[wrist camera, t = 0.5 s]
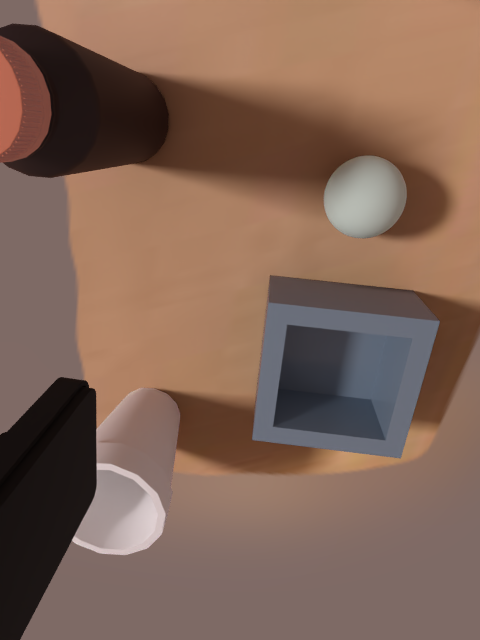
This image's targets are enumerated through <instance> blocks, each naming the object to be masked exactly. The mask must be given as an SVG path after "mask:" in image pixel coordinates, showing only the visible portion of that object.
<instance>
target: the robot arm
mask: <svg viewBox="0 0 480 640" xmlns="http://www.w3.org/2000/svg"><path fill="white" fill-rule="evenodd" d="M96 486H97V449H96V391H95V389H93V388H89V385H88V382H87V381H84V380H77V379H70V378H64V377H60V378H58V379H57V380H56V381H55V382H54V383H53V384H52V385H51V386H50V387H49V388H48V389H47V391H45V393H44V394H43V395H42V396H41V397H40V398H39V399H38V400H37V401H36V402H35V403H34V404H33V405H32V406H31V407H30V408H29V410H27V411H26V413H25V414H24V415H23V416H22V417H21V418H20V419H19V420H18V421H17V422H16V423H15V424H14V425H13V426H12V427H11V428H10V430H8V432H5V433H2V434H1V435H0V640H20V639H21V637H22V635H23V633H24V631H25V629H26V627H27V625H28V623H29V621H30V619H31V618H32V615H33V614H34V612H35V610H36V608H37V606H38V604H39V602H40V600H41V598H42V596H43V594H44V593H45V591H46V589H47V587H48V585H49V583H50V581H51V579H52V577H53V575H54V574H55V572H56V570H57V568H58V566H59V564H60V562H61V560H62V558H63V556H64V555H65V553H66V551H67V549H68V547H69V545H70V543H71V541H72V539H73V537H74V535H75V534H76V532H77V530H78V528H79V526H80V524H81V522H82V520H83V518H84V516H85V514H86V512H87V511H88V509H89V507H90V505H91V503H92V501H93V498H94V496H95V492H96Z"/></svg>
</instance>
